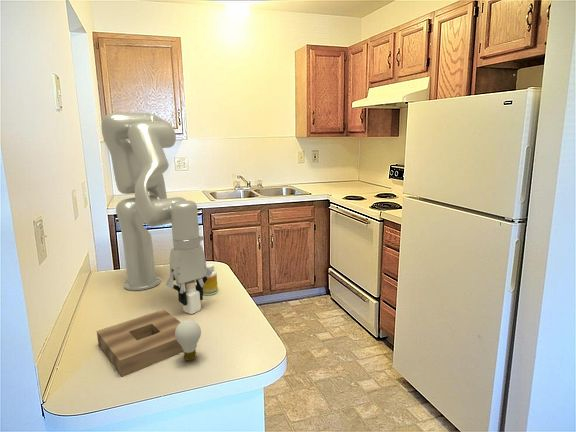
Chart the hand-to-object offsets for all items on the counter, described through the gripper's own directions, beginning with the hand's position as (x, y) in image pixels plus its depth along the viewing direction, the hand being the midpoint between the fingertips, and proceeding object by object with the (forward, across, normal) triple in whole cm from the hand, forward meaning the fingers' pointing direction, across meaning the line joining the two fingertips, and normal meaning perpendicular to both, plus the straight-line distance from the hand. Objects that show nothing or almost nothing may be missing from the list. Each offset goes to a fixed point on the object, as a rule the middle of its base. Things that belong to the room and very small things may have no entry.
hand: (191, 300), depth 117 cm
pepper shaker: (+4, 0, 0) cm, 4 cm away
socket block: (+3, +18, +10) cm, 21 cm away
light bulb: (+4, +12, +24) cm, 27 cm away
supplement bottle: (+4, -11, -9) cm, 15 cm away
